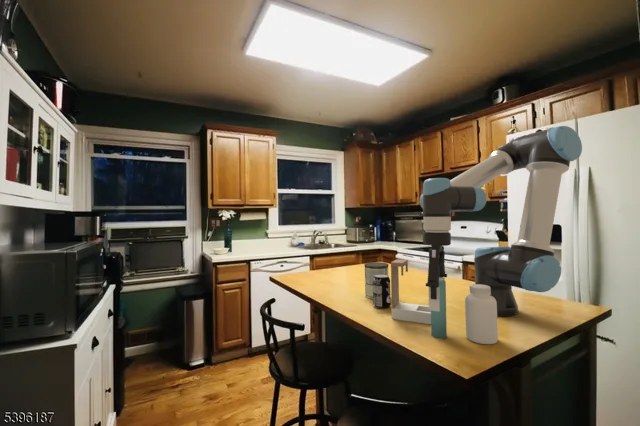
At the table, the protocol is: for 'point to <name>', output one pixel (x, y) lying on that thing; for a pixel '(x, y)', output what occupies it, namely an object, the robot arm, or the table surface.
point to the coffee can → (370, 271)
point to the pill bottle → (481, 315)
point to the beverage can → (381, 291)
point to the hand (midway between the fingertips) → (437, 304)
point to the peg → (440, 315)
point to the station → (404, 309)
